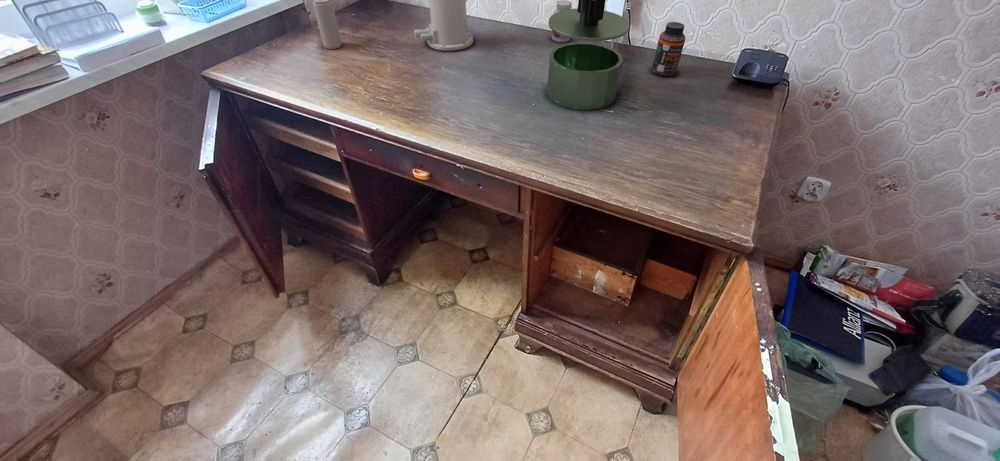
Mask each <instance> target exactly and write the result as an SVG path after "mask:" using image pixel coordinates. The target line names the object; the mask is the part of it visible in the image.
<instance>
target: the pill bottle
mask: <svg viewBox="0 0 1000 461" xmlns="http://www.w3.org/2000/svg"><path fill="white" fill-rule="evenodd" d="M555 6H556V8H555V9H554V11H553V14H555V13H557V12H560V11H563V10H568V9H573V8H572V6H573V3H572V1H571V0H557V2H556V5H555ZM553 14H552V15H553ZM551 39H552V40H553V41H554V42H557V43H566V42H569V41H570V40H571V38H568V37H565V36H562V35H560V34H558V33H556V32H554V31H553V30H552V29H551Z"/></svg>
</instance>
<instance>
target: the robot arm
mask: <svg viewBox="0 0 1000 461" xmlns="http://www.w3.org/2000/svg"><path fill="white" fill-rule="evenodd" d="M577 2H578V3H577V8H578V10H577V11H578V12H579V13H580V11H581V2H582V0H578V1H577ZM606 2H607V1H606V0H590V3H589V10H588V18H587V20H588V21H598V20H602V19H603V14H604V11H605V7H606ZM428 5H429V13H430V14H429V15H430V23H428V27H425V28H424V29H414V31H413V32H414V37H415V38H420V39H421V40H426V41H427V42H426V43H427V45H428V46H429V47H430V48H432V49H434V50H437V51H443V52H444V51H445V52H454V51H460V50H464V49H467V48H469V47H470V46H471V45H472V44H474V36H473V35H472V34H471V33H470V32H468V20H467V19H468V18H467V0H428Z"/></svg>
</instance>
